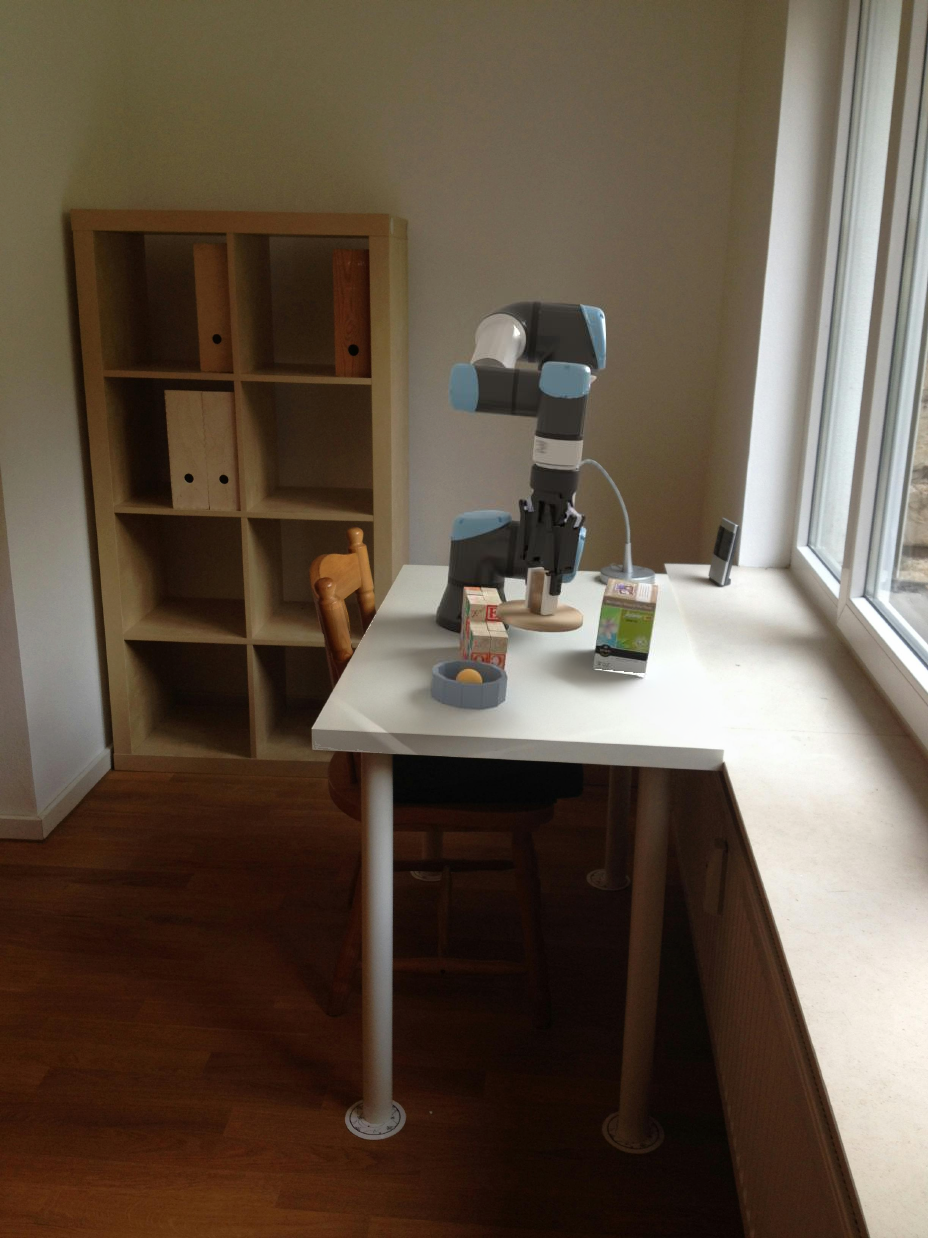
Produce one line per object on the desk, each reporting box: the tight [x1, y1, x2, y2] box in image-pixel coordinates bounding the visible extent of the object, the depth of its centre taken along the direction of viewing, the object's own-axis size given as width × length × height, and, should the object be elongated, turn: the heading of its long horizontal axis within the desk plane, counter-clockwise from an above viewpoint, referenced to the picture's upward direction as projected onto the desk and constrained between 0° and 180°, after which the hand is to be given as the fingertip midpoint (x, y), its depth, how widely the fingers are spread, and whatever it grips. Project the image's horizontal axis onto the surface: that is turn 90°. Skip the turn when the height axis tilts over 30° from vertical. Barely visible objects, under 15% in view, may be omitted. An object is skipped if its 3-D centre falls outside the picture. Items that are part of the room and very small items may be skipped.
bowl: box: [430, 659, 508, 710], centre depth 169 cm, size 12×12×5 cm
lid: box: [496, 570, 584, 633], centre depth 165 cm, size 14×14×8 cm
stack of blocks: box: [459, 587, 509, 670], centre depth 186 cm, size 21×6×12 cm, turn 5°
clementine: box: [456, 669, 482, 683], centre depth 169 cm, size 4×4×4 cm
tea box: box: [592, 578, 659, 674], centre depth 194 cm, size 15×10×15 cm, turn 168°
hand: (540, 609), depth 166 cm, fingers closed on lid, 3 cm apart
